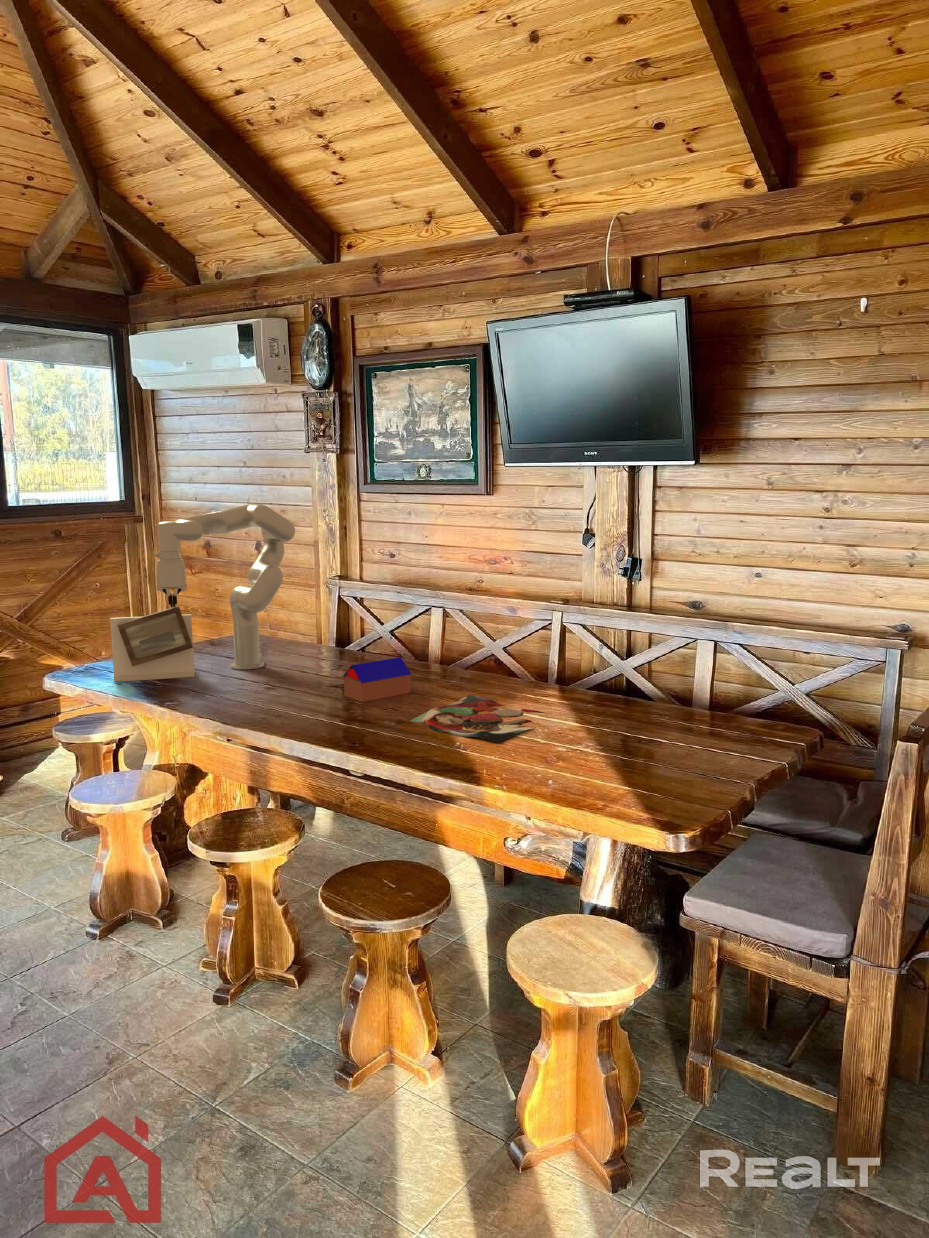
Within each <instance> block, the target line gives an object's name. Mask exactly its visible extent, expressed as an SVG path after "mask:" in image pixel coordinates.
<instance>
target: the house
mask: <svg viewBox="0 0 929 1238" xmlns="http://www.w3.org/2000/svg"><path fill="white" fill-rule="evenodd" d="M411 675H412V673H411V671H410V670H409V667H408V666H407V665H406V663H405V661H404V660H403V659H402V657H395V658H387V659H382V660H376V661H369V662H364V663H363V662H362V663H357V664H351V666H350V667H349V668H348V669H347V671H346V672H345V673H344V674H343V676H342V677H343V689H344V691H343V693H344V695H343V696H345V697H348V698H350V699H352V700H353V699H354V700H357V701H359V702H361V703H363V702H369V701H374V700H375V701H376V700H380V699H385V698H390V697H394V696H395V697H396V696H400V695H404V694H409V693H411Z"/></svg>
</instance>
